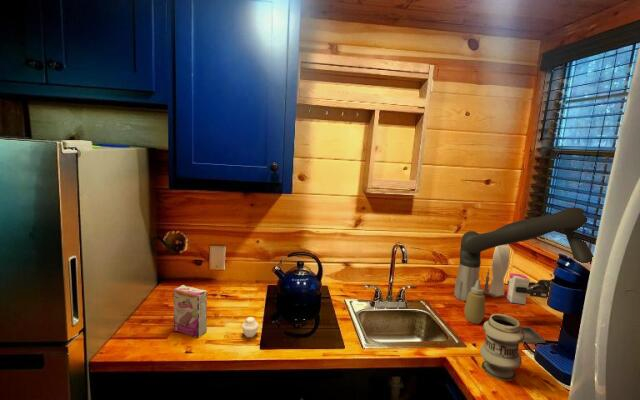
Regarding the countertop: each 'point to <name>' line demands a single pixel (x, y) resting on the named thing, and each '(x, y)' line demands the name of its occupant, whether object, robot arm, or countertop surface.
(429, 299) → the countertop surface
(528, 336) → the socket collar
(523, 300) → the supplement box
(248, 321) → the white lidded pot
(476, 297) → the squeeze bottle
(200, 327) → the candy bar box
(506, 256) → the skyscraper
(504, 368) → the apothecary jar
